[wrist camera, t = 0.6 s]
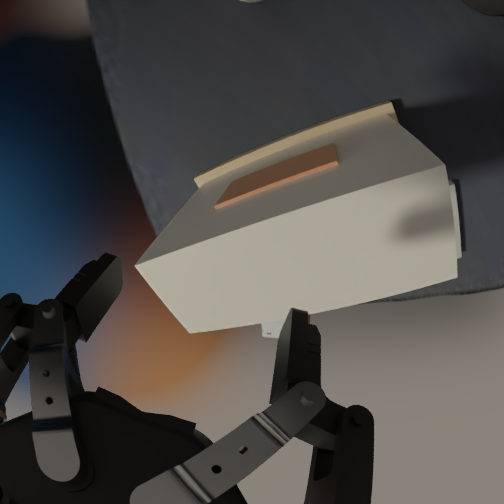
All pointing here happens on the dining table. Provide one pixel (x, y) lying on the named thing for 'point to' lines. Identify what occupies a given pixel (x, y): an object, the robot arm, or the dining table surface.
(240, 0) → the dixie cup
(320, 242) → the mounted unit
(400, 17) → the dining table surface
